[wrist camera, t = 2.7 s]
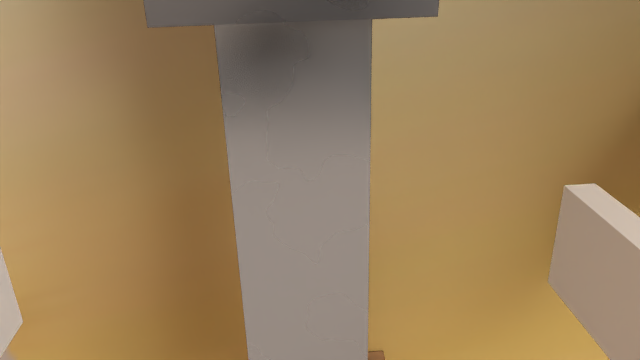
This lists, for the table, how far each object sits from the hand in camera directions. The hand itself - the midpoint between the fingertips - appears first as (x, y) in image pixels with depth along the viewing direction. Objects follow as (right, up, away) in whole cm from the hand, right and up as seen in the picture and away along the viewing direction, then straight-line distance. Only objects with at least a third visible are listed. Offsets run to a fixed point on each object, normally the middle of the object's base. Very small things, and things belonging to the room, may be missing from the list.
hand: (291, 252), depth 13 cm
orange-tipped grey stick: (0, +6, +3) cm, 7 cm away
